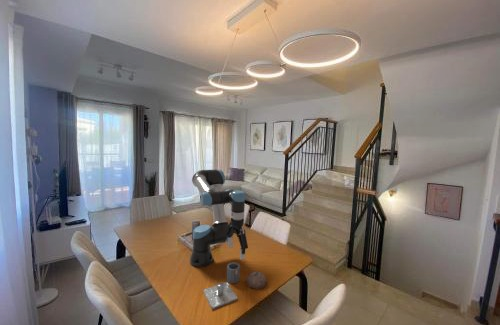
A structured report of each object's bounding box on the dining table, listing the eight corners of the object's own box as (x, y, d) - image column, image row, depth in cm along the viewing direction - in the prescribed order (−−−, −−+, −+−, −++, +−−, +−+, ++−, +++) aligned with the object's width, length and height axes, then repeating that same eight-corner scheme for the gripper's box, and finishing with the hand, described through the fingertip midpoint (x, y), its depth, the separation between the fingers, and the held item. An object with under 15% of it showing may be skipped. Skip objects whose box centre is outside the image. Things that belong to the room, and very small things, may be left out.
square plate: (203, 291, 112) (203, 281, 111) (226, 283, 119) (227, 273, 118) (212, 309, 100) (212, 298, 99) (237, 299, 107) (238, 288, 106)
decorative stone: (243, 286, 117) (243, 277, 116) (249, 274, 128) (250, 266, 128) (263, 292, 113) (264, 282, 113) (268, 278, 125) (268, 270, 124)
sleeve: (224, 277, 124) (225, 264, 124) (235, 273, 128) (236, 261, 127) (230, 285, 117) (230, 271, 117) (242, 281, 121) (242, 268, 120)
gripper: (221, 212, 126) (220, 244, 128) (243, 227, 105) (242, 266, 108) (232, 210, 130) (230, 241, 132) (255, 224, 110) (253, 261, 112)
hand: (235, 252), depth 120 cm, fingers open, 13 cm apart
